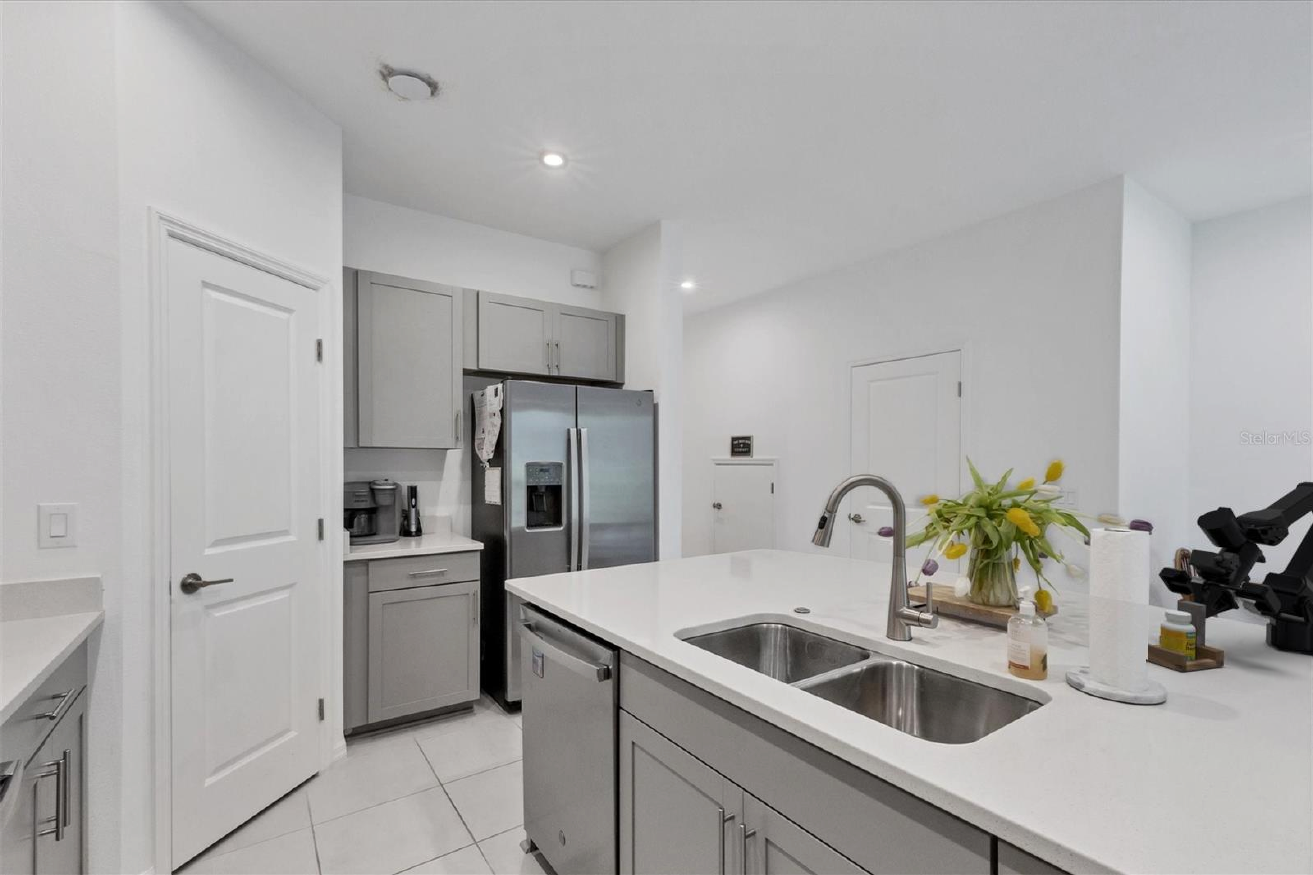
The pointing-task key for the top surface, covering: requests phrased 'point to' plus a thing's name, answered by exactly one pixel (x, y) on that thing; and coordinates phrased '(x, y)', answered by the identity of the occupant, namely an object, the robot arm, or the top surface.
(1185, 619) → the supplement bottle
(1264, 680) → the top surface
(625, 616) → the top surface
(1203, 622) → the wooden display stand
